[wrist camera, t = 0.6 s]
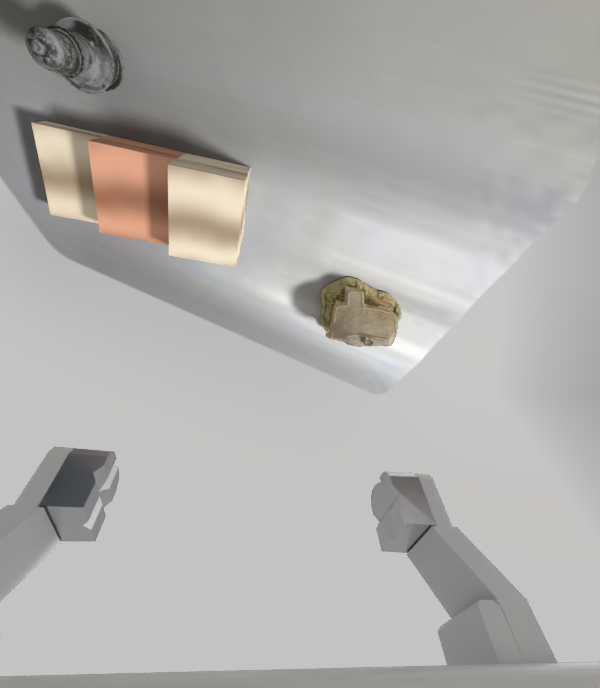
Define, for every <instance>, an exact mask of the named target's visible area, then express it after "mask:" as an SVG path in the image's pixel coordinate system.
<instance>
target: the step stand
mask: <svg viewBox="0 0 600 688" xmlns="http://www.w3.org/2000/svg"><path fill="white" fill-rule="evenodd" d="M31 124H32V129H33V133H34V138H35V143H36V148H37V152H38V157H39V162H40V166H41V171H42V176H43V181H44V185H45V190H46V195H47V200H48V204H49V209H50V214H51V215H56V216H61V217H67V218H72V219H78V220H83V221H88V222H94V223H98V225H99V232H100V233H103V234H109V235H115V236H120V237H126V238H131V239H137V240H142V241H148V242H153V243H159V244H164V245H169V255H170V256H176V257H181V258H187V259H193V260H198V261H204V262H210V263H215V264H221V265H227V266H232V267H236V264H237V260H238V256H239V252H240V248H241V244H242V238H243V230H244V221H245V212H246V204H247V195H248V186H249V178H250V169H251V167H247V166H242V165H238V164H233V163H229V162H225V161H220V160H216V159H211V158H207V157H203V156H198V155H194V154H189V153H185V152H180V151H176V150H172V149H167V148H163V147H158V146H154V145H150V144H145V143H141V142H136V141H132V140H128V139H123V138H119V137H114V136H110V135H106V134H101V133H97V132H92V131H88V130H84V129H79V128H75V127H70V126H66V125H62V124H57V123H53V122H48V121H41V122H31Z"/></svg>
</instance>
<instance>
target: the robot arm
mask: <svg viewBox="0 0 600 688" xmlns="http://www.w3.org/2000/svg"><path fill="white" fill-rule="evenodd" d="M115 460H116V455H115V452H113V451H101V450H88V449H77V448H65V447H54V448H52V449H51V450H50V451H49V452H48V453H47V455H46V457H45V458H44V459H43V461H42V463H41V464H40V465H39V467H38V469H37V470H36V472H35V473H34V475H33V476H32V478H31V479H30V481H29V482H28V484H27V486H26V487H25V489H24V490H23V492H22V493H21V495H20V496H19V498H18V499H17V501H16V503H15V504H14V505H7V506H5V507H4V508H2V509H1V510H0V601H1V600H2V599H3V598H4V597H5V596H6V595H7V594H8V593H10V592H11V590H12V589H14V588H15V587H16V586H17V585H18V584H19V583H20V582H21V581H22V580H23V579H24V578H25V577H26V576H27V575H28V574H29V573H30V572H31V571H32V570H34V568H36V567H37V566H38V565H39V564H40V563H41V561H43V560H44V559H45V558H46V557H47V556H48V555H49V554H50V553H51V552H52V551H53V550H54V549H55V548H56V547H57V546H58V545H60V544H61V542H60V541H96V538H97V536H98V533H99V531H100V529H101V526H102V524H103V521H104V519H105V512H104V507H105V506H106V505H107V504H108V503H110V502H111V501H112V499H113V497H114V495H115V492H116V489H117V485H118V480H119V469H118V467H117V466H115V465H114V463H115ZM380 480H381V482H380V483H378V484H376V485H375V486H374V488H373V490H372V495H371V506H372V510H373V514H374V516H375V517H376V518H377V519H378V521H379V524H378V527H377V533H378V537H379V542H380V546H381V551H387V552H403V553H407V556H408V557H409V558H410V560H411V561H412V562H413V564H414V565H415V567H416V568H417V570H418V571H419V573H420V574H421V575H422V577H423V578H424V580H425V581H426V583H427V584H428V585H429V587H430V588H431V590H432V591H433V593H434V594H435V595H436V597H437V598H438V600H439V601H440V603H441V604H442V606H443V607H444V608H445V610H446V611H447V613H448V614H449V615H450V617H451V618H452V619H451V620H449V621H448V622H446V623H445V624H443V625H442V626H440V628H439V630H438V634H439V637H440V641H441V645H442V648H443V652H444V655H445V659H446V662H447V665H445V666H444V665H442V666H405V667H404V666H403V667H364V668H362V667H361V668H324V669H323V668H321V669H281V670H240V671H203V672H202V671H201V672H200V671H199V672H161V673H160V672H158V673H118V674H80V675H79V674H77V675H39V676H0V688H600V662H569V663H568V662H567V663H566V662H564V663H557V661H556V659H555V657H554V655H553V653H552V650H551V648H550V646H549V644H548V642H547V640H546V638H545V636H544V634H543V632H542V630H541V628H540V626H539V624H538V622H537V620H536V618H535V616H534V614H533V612H532V610H531V607H530V606H529V604H528V602H527V599H526V598H525V597H524V596H523V595H522V594H521V593H520V592H519V591H518V590H517V589H516V588H515V587H514V586H513V585H512V584H511V583H510V582H509V581H508V580H507V579H506V577H504V576H503V574H502V573H501V572H500V571H498V569H497V568H496V567H495V566H494V565H493V564H492V563H491V562H490V561H489V560H488V559H487V558H486V557H485V556H484V555H483V554H482V553H481V552H480V551H479V550H478V549H477V547H475V546H474V544H473V543H472V542H471V541H470V540H469V539H468V538H467V537H466V536H465V535H464V534H463V533H462V532H461V531H460V530H459V529H458V528H457V527H452V524H451V522H450V519H449V517H448V515H447V512H446V510H445V507H444V505H443V503H442V500H441V498H440V495H439V493H438V490H437V488H436V485H435V483H434V480H433V478H432V477H431V476H430V475H427V474H414V473H403V472H384V473H382V475H381V476H380Z"/></svg>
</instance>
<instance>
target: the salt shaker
mask: <svg viewBox="0 0 600 688" xmlns="http://www.w3.org/2000/svg"><path fill="white" fill-rule="evenodd" d="M26 45H27V48H28V51H29V53H30V55H31V56H32V58H33V59H34V60H35V61H36V62H37V63H38V64H39V65H40V66H42V67H43V68H45V69H47V70H50V71H55V72H57V73H58V74H60V75H61V76H63V77H64V78H65V79H66V80H67V81H68V82H69V83H70V84H71V85H73V86H74V87H76V88H77V89H79V90H81V91H83V92H86V93H93V94H96V93H100V92H103V91H109V90H113V89H115V88H116V87H118V86H119V84H120V83H121V81H122V78H123V75H124V65H123V60H122V56H121V54H120V51H119V49H118V48H117V46H116V45H115V43H114V42H113V41H112V39H111V38H110V37H109V36H108V35H106V34H105V33H104V32H102V31H100V30H98V29H96V28H95V27H94V26H92V25H91V24H90V23H88V22H87V21H85V20H82V19H80V18H77V17H65V18H62V19H60V20H59V21H58V22H57V23H55V25H54V26H53V25H52V26H49V27H47V28H45V27H42V26H34V27H31V28H30V29H29V30H28V31H27V33H26Z"/></svg>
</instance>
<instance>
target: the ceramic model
mask: <svg viewBox="0 0 600 688" xmlns="http://www.w3.org/2000/svg"><path fill="white" fill-rule="evenodd" d="M320 297H321V305H322V310H321V315H320V322H321V324H322V326H323V327H324V329H325V331H327V332H328V333H326V336H327V337H328V338H330V339H333V340H338V341H341V342H345V343H346V344H348V345H352V346H357V347H362V346H391V345H392V344H393V342H394V340H395V337H396V334H397V329H398V321H399V320H400V319H401V310H400V306H399V305H398V304H397V303H396V301H395V300H394V299H393V297H392V296H391V295H390V294H388V293H386V292H381V291H377V290H375V289H374V288H372V287H370V286H368V285H366V284H365V283H363V282H362V281H360V280H358V279H355V278H351V277H345V278H341V279H339V280H336V281H335V282H332V283H329V284H328V285H326V286H325V287H324V288H323V290H322V291H321V294H320Z"/></svg>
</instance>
